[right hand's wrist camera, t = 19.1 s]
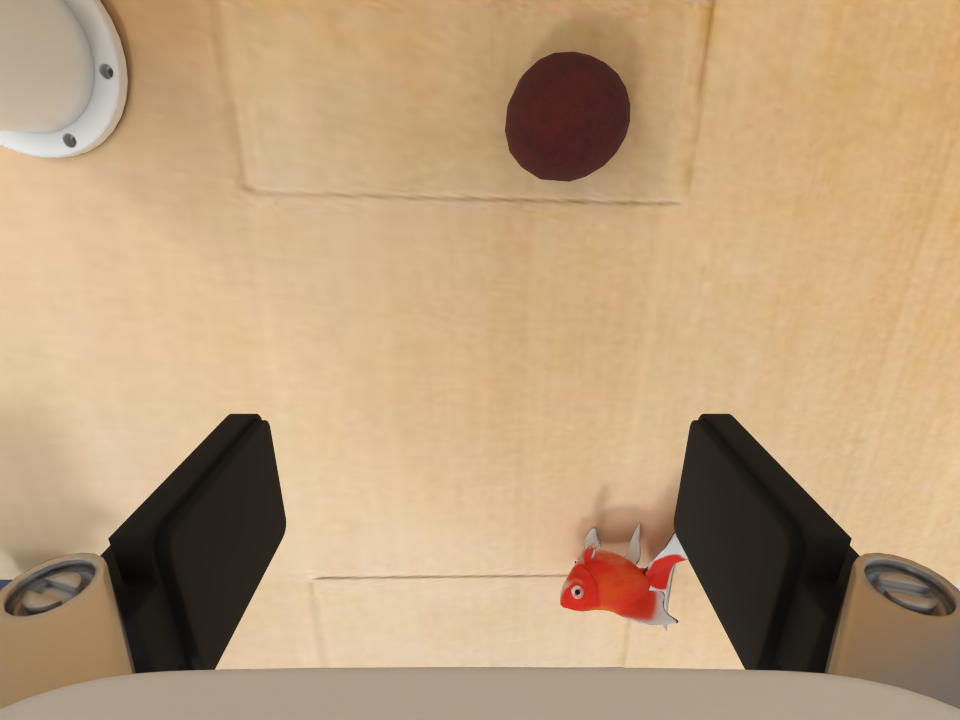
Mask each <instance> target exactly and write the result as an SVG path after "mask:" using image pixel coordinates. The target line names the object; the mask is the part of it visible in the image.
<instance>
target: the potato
mask: <svg viewBox="0 0 960 720" xmlns="http://www.w3.org/2000/svg"><path fill="white" fill-rule="evenodd" d="M629 122H630V103H629V98H628V94H627V90H626V87H625V85H624V84H623V82H622V80H621V79H620V77H619V75H618V74H617V73H616V72H615V71H614V70H613V69H612V68H610V67H609V66H608V65H607V64H606V63H604V62H602V61H600V60H598V59H596V58H594V57H592V56H590V55H586V54H581V53H577V52H562V53H553V54H551V55H549V56H547V57H544V58H542V59H540V60H539V61H537V62H536V63H535V64H534V65H533V66H532V67H531V68H530V69H529V70H528V71H527V72H526V73H525V74H524V75H523V76H522V78H521V79H520V80H519V82H518V85H517V87H516V89H515V91H514V93H513V95H512V98H511V100H510V102H509V104H508V107H507V117H506V127H505V132H506V137H507V141H508V146H509V151H510V153H511V154H512V155H513V156H514V158H515V159H516V160H517V162H518V163H519V164H520V166H521V167H522V168H524V169H525V170H527V171H529V172H530V173H532V174H533V175H535V176H536V177H538V178H540V179H544V180H557V181H573V180H576V179H579V178H582V177H585V176H587V175H589V174H591V173H592V172H594V171H596V170H597V169H599V168H601V167H602V166H604V165H605V164H606V163H607V162H608V161H609V160H610V159H611V158H612V157H613V156H614V155H615V153H616V152H617V150H618V149H619V147H620V145H621V144H622V142H623V140H624V139H625V136H626V133H627V129H628V126H629Z"/></svg>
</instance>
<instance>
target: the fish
mask: <svg viewBox="0 0 960 720" xmlns="http://www.w3.org/2000/svg"><path fill="white" fill-rule="evenodd" d="M584 545H585V551H584V554H583V557H582V558H581V559H579V560H578V561H577V562H576V561H575V565H574V567H573V568H572V570H571V571H570V573H569V575H568V576H567V578H566V580H565V582H564V584H563V587H562V590H561V596H560V603H561V605H562V607H564V608H568V609H572V610H576V611H590V610H607V611H611V612H614V613H616V614H618V615H620V616H622V617H625V618H627V619H630V620H633V621H636V622H639V623H643V624H648V625H663V626H664V628H665V630H666V631H667V624H673V623H678V620H676V619H675V618H673V617H672V616H670V615H669V614H668V602H669V595H670V588H671V582H672V575H673V571H674V567H675V564H676V563H677V562H680V561H684V560H687V559H688V558H687V556H686V554H685V552H684V550H683V548H682V546H681V544H680V542H679V540H678V538H677V536H676V533H675V532H674V533H673V535H672V537H671V538H670V540H669V542H668V543H667V545H666V547H665V548H664V550H663V551H662V552H661V553H660V554H659V555H658V556H657V557H656V558H655V559H654V560H653V561H652V562H651V563H650V565H649V566H648V567H647V568H638V567H637V566H635V565H636V564H637V563H638V562H639V559H640V524H638V526H637V528H636V530H635V533H634V535H633V537H632V539H631V543H630V546H629V550H628V552H627V554H626V556H625V557H623V556H620V555H618V554H616V553H612V552H609V551H603V550H600V549H601V543H600V540H599V538H598V535H597V530H596V529H595V528H592V529H591V530H590V532H589V533H588V535H587V536H586V539H585V542H584Z"/></svg>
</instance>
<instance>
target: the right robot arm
mask: <svg viewBox="0 0 960 720" xmlns="http://www.w3.org/2000/svg"><path fill="white" fill-rule="evenodd" d="M112 71H113V74H112ZM127 86H128V77H127V66H126V59H125V55H124V51H123V48H122V44H121V40H120V38H119V35H118V33H117V31H116V28H115V26H114V24H113V21H112V19H111V17H110V16H109V14H108V12H107V11H106V9H105V8H104V6H103V4H102V3H101V1H100V0H0V145H2V146H4V147H6V148H8V149H11V150H14V151H16V152H19V153H22V154H26V155H31V156H36V157H42V158H62V157H72V156H77V155H80V154H83V153H86V152H88V151H91V150H92V149H94V148H95V147H97V146H98V145H100V144H101V143H103V142H104V141H105V140H106V139H107V138H108V136H109V135H110V134H111V133H112V132H113V131H114V129H115V127H116V126H117V124H118V122H119V120H120V118H121V116H122V113H123V110H124V106H125V103H126V98H127ZM285 529H286V517H285V511H284V505H283V499H282V494H281V488H280V482H279V476H278V470H277V465H276V459H275V453H274V447H273V441H272V436H271V430H270V425H269V423H268V421H266V420H262V419H261V417H260V416H259V415H258V414H230V415H228V416H227V417H226V418H225V419H224V420H223V421H222V422H221V423H220V424H219V425H218V426H217V427H216V428H215V429H214V430H213V431H212V432H211V433H210V435H209V436H208V437H207V438H206V439H205V440H204V441H203V442H202V443H201V444H200V445H199V446H198V447H197V448H196V449H195V450H194V451H193V452H192V453H191V454H190V455H189V456H188V457H187V458H186V459H185V460H184V461H183V462H182V463H181V464H180V465H179V466H178V467H177V468H176V470H175V471H174V472H173V473H172V474H171V475H170V476H169V477H168V478H167V479H166V480H165V481H164V482H163V483H162V484H161V485H160V486H159V487H158V488H157V489H156V490H155V491H154V492H153V493H152V494H151V495H150V496H149V497H148V498H147V499H146V500H145V501H144V502H143V503H142V505H141V506H140V507H139V508H138V509H137V510H136V511H135V512H134V513H133V514H132V515H131V516H130V517H129V518H128V519H127V520H126V521H125V522H124V523H123V524H122V525H121V526H120V527H119V528H118V529H117V530H116V531H115V532H114V533H113V534H112V535H111V536H110V537H109V538H108V539H109V542H110V546H109V547H108V548H107V550H106V551H105V552H104V553H103V554H102V555H101V556H98V555H96V554H91V553H77V554H70V555H65V556H62V557H58V558H55V559H52V560H49V561H46V562H44V563H42V564H40V565H37V566H35V567H33V568H31V569H29V570H28V571H26V572H24V573H23V574H21V575H19V576H18V577H16V578H15V579H14V580H12V581H11V582H10V583H9V584H7V585H6V586H5V587H4V588H3V589H2V590H1V591H0V720H960V591H959V590H958V589H957V588H956V587H955V586H954V585H953V584H951V583H950V582H949V581H948V580H946V579H945V578H944V577H942V576H941V575H939V574H937V573H936V572H934V571H932V570H931V569H929V568H927V567H925V566H923V565H920V564H918V563H916V562H914V561H911V560H908V559H905V558H902V557H898V556H895V555H890V554H883V553H869V554H864V555H862V556H859V555H858V554H857V553H856V552H855V551H854V550H853V548H852V547H851V546H850V542H851V539H852V538H851V537H850V536H849V535H848V534H847V533H846V532H845V531H844V530H843V529H842V528H841V527H840V526H839V525H838V524H837V523H836V522H835V521H834V520H833V519H832V518H831V517H830V516H829V515H828V514H827V513H826V512H825V511H824V510H823V509H822V508H821V507H820V506H819V505H818V503H817V502H816V501H815V500H814V499H813V498H812V497H811V496H810V495H809V494H808V493H807V492H806V491H805V490H804V489H803V488H802V487H801V486H800V485H799V484H798V483H797V482H796V481H795V480H794V479H793V478H792V477H791V476H790V475H789V474H788V473H787V472H786V471H785V470H784V468H783V467H782V466H781V465H780V464H779V463H778V462H777V461H776V460H775V459H774V458H773V457H772V456H771V455H770V454H769V453H768V452H767V451H766V450H765V449H764V448H763V447H762V446H761V445H760V444H759V443H758V442H757V441H756V440H755V439H754V438H753V437H752V436H751V435H750V434H749V432H748V431H747V430H746V429H745V428H744V427H743V426H742V425H741V424H740V423H739V422H738V421H737V420H736V419H735V418H734V417H733V416H732V415H730V414H702V415H701V416H700V417H699V419H698V420H694V421H692V423H691V425H690V430H689V436H688V441H687V447H686V453H685V459H684V465H683V470H682V476H681V482H680V488H679V494H678V499H677V505H676V511H675V517H674V529H675V533H676V536H677V538H678V540H679V542H680V544H681V546H682V548H683V550H684V552H685V554H686V556H687V558H688V560H689V562H690V564H691V566H692V567H693V569H694V571H695V573H696V575H697V577H698V579H699V581H700V583H701V585H702V587H703V589H704V591H705V593H706V595H707V596H708V598H709V600H710V602H711V604H712V606H713V608H714V610H715V612H716V614H717V616H718V618H719V620H720V622H721V624H722V626H723V627H724V629H725V631H726V633H727V635H728V637H729V639H730V641H731V643H732V645H733V647H734V649H735V651H736V653H737V655H738V656H739V658H740V660H741V662H742V664H743V666H744V668H745V670H734V669H676V668H540V667H419V668H284V669H226V670H215V668H216V666H217V664H218V662H219V660H220V658H221V656H222V655H223V653H224V651H225V649H226V647H227V645H228V643H229V641H230V639H231V637H232V635H233V633H234V631H235V629H236V627H237V626H238V624H239V622H240V620H241V618H242V616H243V614H244V612H245V610H246V608H247V606H248V604H249V602H250V600H251V598H252V596H253V595H254V593H255V591H256V589H257V587H258V585H259V583H260V581H261V579H262V577H263V575H264V573H265V571H266V569H267V567H268V566H269V564H270V562H271V560H272V558H273V556H274V554H275V552H276V550H277V548H278V546H279V544H280V542H281V540H282V538H283V536H284V533H285Z"/></svg>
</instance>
